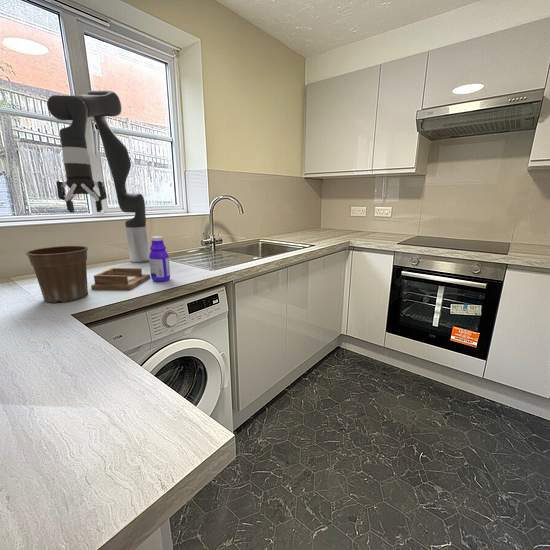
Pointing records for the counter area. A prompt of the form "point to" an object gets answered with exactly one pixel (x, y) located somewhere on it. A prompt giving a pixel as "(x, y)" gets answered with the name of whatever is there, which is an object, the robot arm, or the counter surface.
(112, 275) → the rail board
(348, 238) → the counter surface
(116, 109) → the robot arm
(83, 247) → the plant pot
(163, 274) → the bottle
